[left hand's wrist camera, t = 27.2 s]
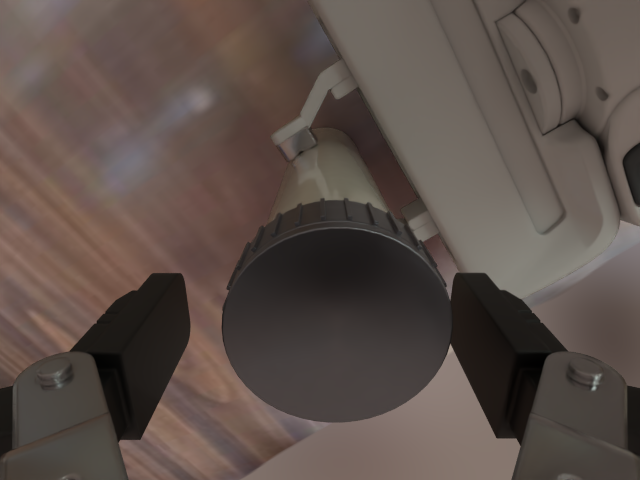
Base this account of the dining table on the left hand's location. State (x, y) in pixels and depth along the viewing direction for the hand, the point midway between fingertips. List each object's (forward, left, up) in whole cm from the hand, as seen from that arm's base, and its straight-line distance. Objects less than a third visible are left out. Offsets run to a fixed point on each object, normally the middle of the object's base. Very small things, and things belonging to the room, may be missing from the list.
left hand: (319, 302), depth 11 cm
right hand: (0, 0, -10) cm, 10 cm away
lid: (+1, 0, +2) cm, 2 cm away
